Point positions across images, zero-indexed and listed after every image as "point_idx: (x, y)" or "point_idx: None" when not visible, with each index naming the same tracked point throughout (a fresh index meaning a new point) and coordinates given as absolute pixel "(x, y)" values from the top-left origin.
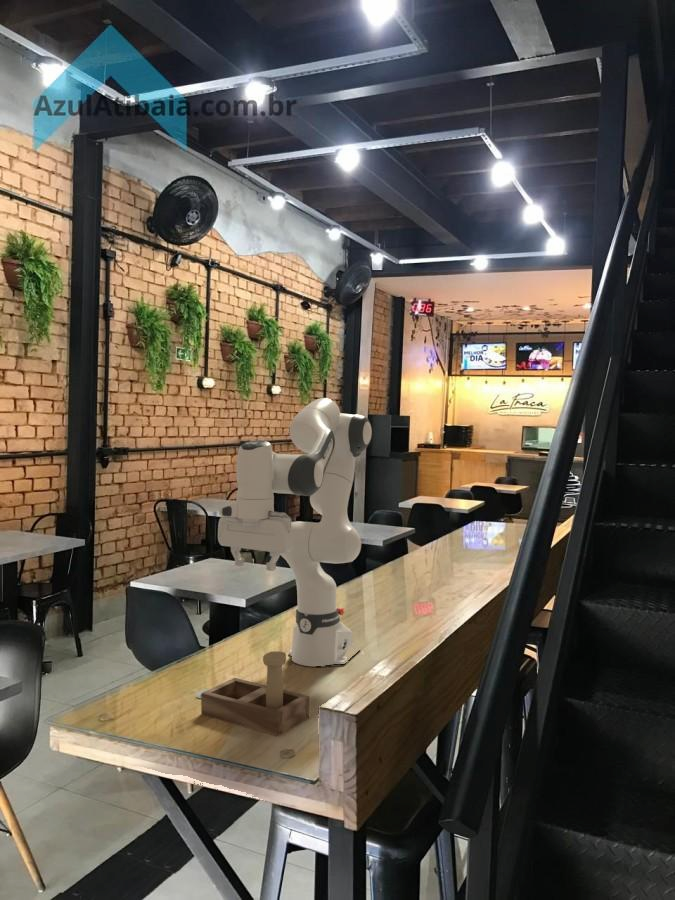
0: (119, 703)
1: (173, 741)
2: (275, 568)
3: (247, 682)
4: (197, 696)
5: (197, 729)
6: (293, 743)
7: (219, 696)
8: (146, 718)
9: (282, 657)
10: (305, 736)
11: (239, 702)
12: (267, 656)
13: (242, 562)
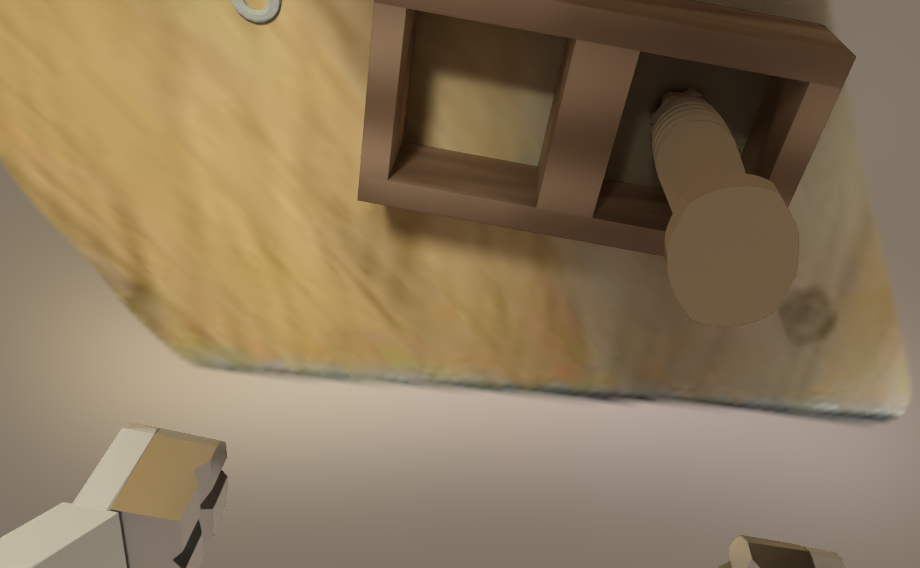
0: (41, 179)
1: (423, 350)
2: (840, 564)
3: (475, 7)
4: (240, 10)
5: (439, 265)
6: (810, 252)
7: (447, 204)
8: (228, 250)
9: (787, 269)
10: (843, 192)
11: (558, 230)
12: (694, 279)
13: (204, 492)
